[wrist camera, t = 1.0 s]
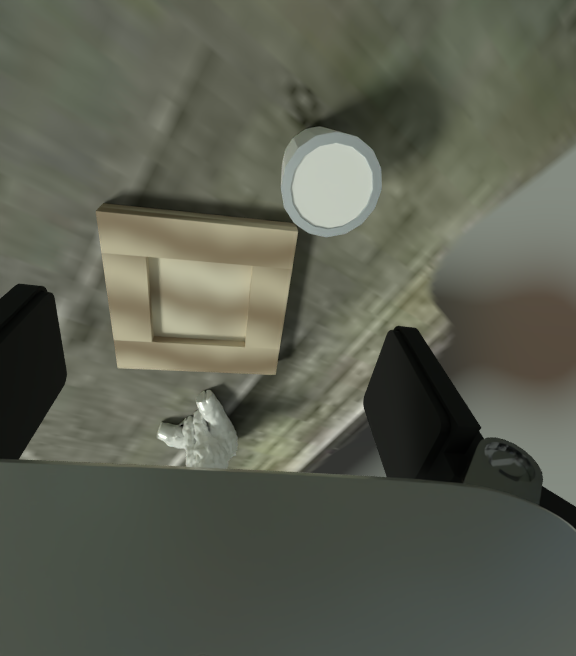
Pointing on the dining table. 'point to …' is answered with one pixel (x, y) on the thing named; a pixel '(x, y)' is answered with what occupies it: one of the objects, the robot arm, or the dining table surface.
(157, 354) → the coaster board
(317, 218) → the white cup
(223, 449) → the sitting furry creature
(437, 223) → the dining table surface
